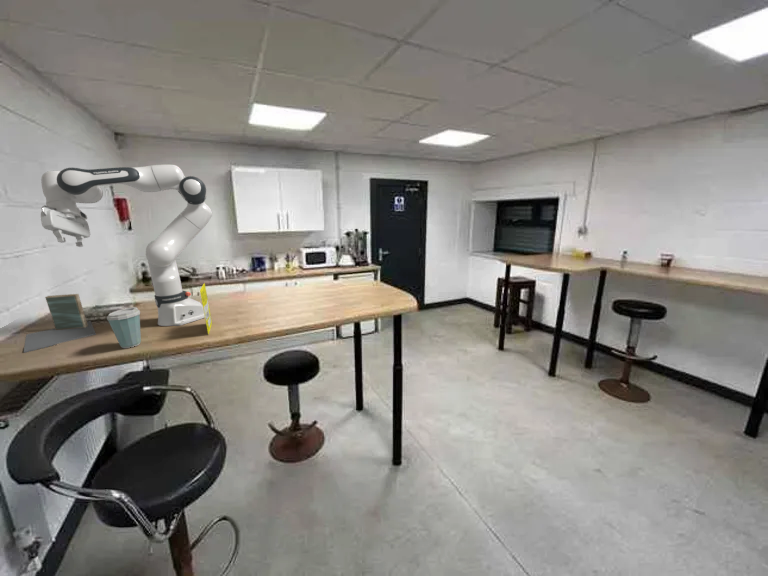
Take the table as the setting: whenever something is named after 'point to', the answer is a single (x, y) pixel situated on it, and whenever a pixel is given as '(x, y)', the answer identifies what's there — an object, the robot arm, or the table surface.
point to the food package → (206, 307)
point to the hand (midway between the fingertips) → (71, 244)
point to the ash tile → (66, 311)
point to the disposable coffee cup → (126, 326)
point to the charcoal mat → (56, 337)
